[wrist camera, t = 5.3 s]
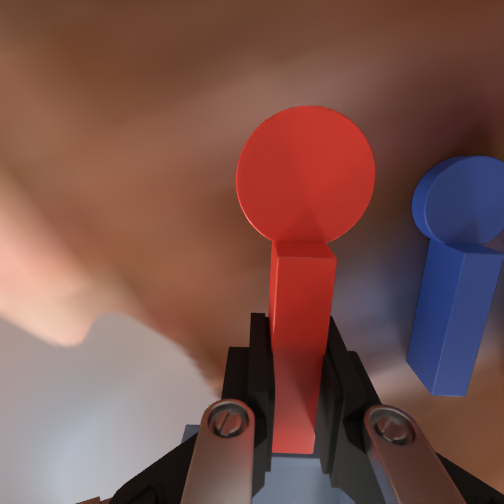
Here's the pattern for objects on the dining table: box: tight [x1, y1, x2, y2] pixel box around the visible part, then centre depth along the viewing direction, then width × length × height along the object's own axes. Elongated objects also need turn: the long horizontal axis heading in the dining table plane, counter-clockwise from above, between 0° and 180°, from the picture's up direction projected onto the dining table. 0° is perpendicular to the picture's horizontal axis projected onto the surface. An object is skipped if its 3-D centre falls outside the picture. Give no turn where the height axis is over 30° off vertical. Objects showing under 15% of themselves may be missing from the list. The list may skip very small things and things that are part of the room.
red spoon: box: [236, 105, 375, 454], centre depth 10 cm, size 11×4×3 cm, turn 179°
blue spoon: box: [406, 155, 504, 397], centre depth 14 cm, size 11×4×3 cm, turn 178°
